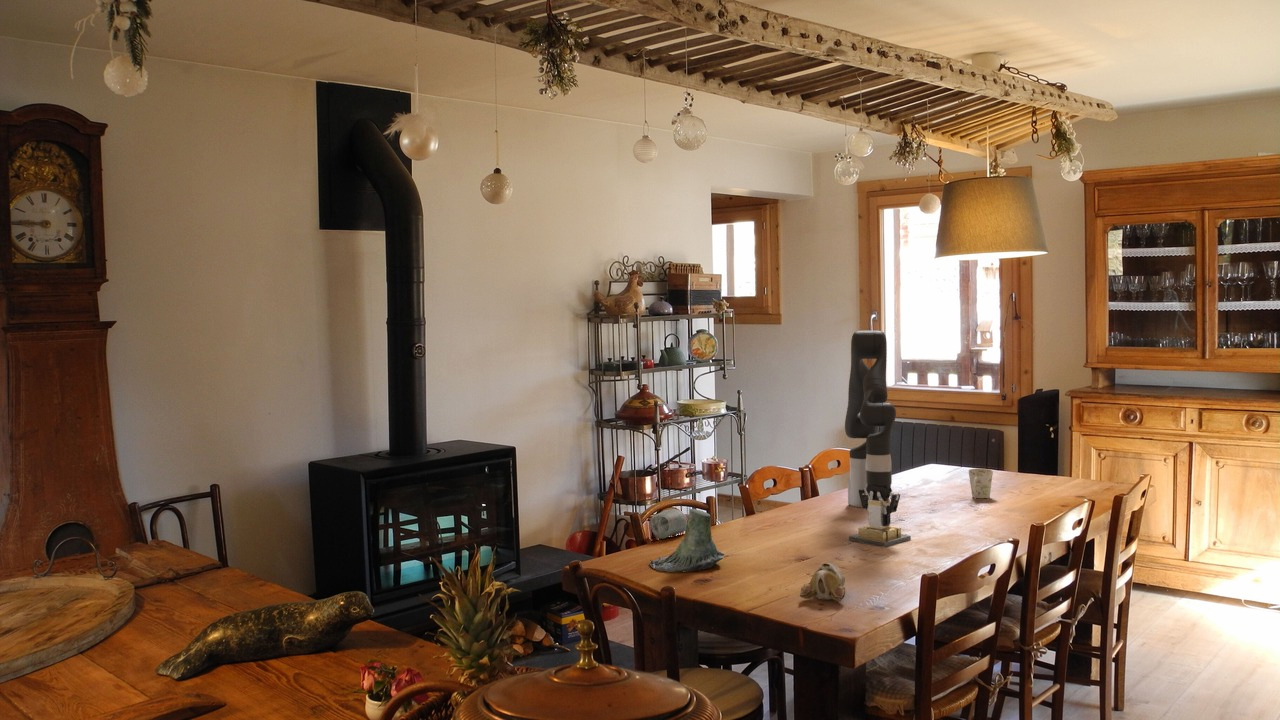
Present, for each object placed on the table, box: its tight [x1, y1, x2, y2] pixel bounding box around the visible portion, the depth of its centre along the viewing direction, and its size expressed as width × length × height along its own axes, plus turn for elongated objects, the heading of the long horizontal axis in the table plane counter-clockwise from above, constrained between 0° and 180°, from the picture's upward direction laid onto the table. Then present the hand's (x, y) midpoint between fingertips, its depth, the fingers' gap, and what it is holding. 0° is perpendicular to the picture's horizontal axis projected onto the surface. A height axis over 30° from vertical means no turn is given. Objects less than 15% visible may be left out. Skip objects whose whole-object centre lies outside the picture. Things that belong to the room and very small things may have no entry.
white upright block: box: [868, 499, 891, 531], centre depth 295 cm, size 5×5×10 cm
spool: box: [649, 508, 688, 540], centre depth 308 cm, size 14×10×10 cm
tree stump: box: [649, 508, 725, 573], centre depth 272 cm, size 18×20×18 cm
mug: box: [968, 468, 994, 499], centre depth 355 cm, size 8×13×10 cm, turn 148°
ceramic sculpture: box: [799, 560, 846, 602], centre depth 237 cm, size 11×9×15 cm
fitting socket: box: [848, 524, 911, 548], centre depth 295 cm, size 13×13×4 cm
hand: (879, 524), depth 295 cm, fingers closed on white upright block, 4 cm apart
